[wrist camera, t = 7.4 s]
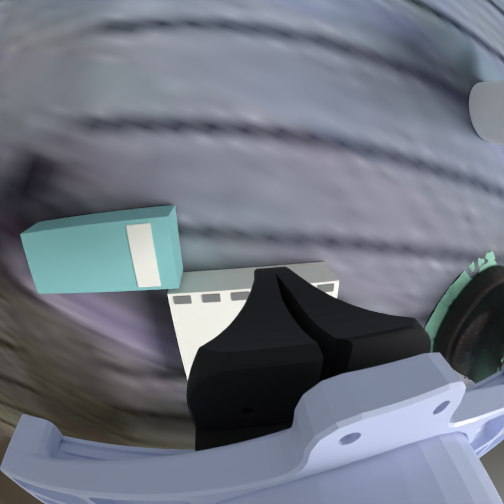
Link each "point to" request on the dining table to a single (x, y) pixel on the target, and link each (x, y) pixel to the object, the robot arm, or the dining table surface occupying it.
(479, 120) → the mug
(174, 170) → the dining table surface
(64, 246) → the stub
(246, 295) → the ticket
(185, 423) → the dining table surface
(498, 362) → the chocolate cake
